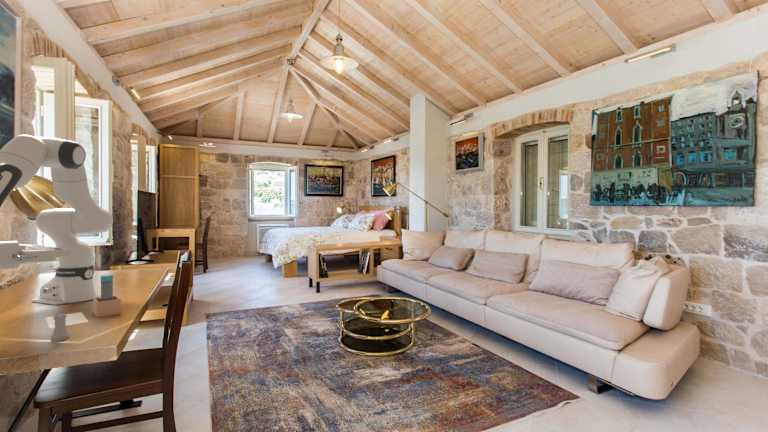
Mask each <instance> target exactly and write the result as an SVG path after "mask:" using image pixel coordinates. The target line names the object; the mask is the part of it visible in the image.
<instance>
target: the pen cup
mask: <svg viewBox="0 0 768 432" xmlns="http://www.w3.org/2000/svg"><path fill="white" fill-rule="evenodd" d="M121 311H122V299H121V297H119V296H118V295H113V300H107V301H101V297H97V298H94V299H92V314H93V315H94V316H95V317H96V318H99V317H106V316H112V315H117V314H118V315H119V314H121V313H122V312H121Z"/></svg>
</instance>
